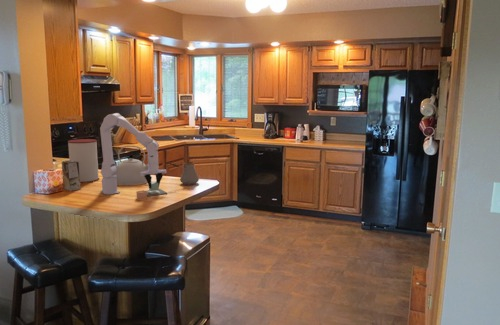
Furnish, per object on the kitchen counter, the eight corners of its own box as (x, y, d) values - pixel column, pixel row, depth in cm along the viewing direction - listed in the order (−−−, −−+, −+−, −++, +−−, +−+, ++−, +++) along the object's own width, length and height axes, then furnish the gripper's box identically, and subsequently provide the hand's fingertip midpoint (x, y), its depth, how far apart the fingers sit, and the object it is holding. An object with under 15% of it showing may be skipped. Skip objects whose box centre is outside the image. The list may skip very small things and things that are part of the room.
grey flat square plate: (141, 192, 236) (141, 191, 236) (159, 189, 242) (159, 188, 242) (148, 196, 227) (148, 195, 227) (167, 193, 233) (167, 192, 233)
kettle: (159, 178, 273) (158, 143, 270) (145, 186, 251) (144, 148, 247) (123, 176, 277) (121, 142, 274) (106, 184, 255) (104, 147, 251)
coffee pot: (192, 180, 266) (191, 157, 263) (202, 183, 257) (202, 159, 255) (162, 185, 252) (161, 161, 249) (172, 189, 243) (171, 163, 241)
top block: (136, 198, 223) (136, 191, 222) (144, 197, 225) (143, 190, 224) (139, 200, 219) (139, 192, 219) (146, 199, 222) (146, 191, 221)
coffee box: (80, 189, 242) (79, 161, 239) (69, 191, 238) (68, 163, 235) (73, 186, 248) (71, 159, 246) (62, 188, 244) (60, 161, 241)
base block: (149, 189, 235) (148, 182, 234) (156, 188, 237) (155, 181, 236) (151, 191, 231) (151, 183, 231) (158, 190, 234) (158, 183, 233)
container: (67, 179, 269) (64, 140, 265) (95, 176, 278) (93, 138, 274) (73, 184, 255) (70, 143, 251) (102, 180, 264) (100, 141, 260)
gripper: (142, 165, 224) (143, 190, 226) (168, 163, 232) (169, 187, 234) (138, 163, 230) (139, 187, 232) (163, 161, 238) (164, 184, 240)
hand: (153, 187), depth 234 cm, fingers closed on base block, 4 cm apart
